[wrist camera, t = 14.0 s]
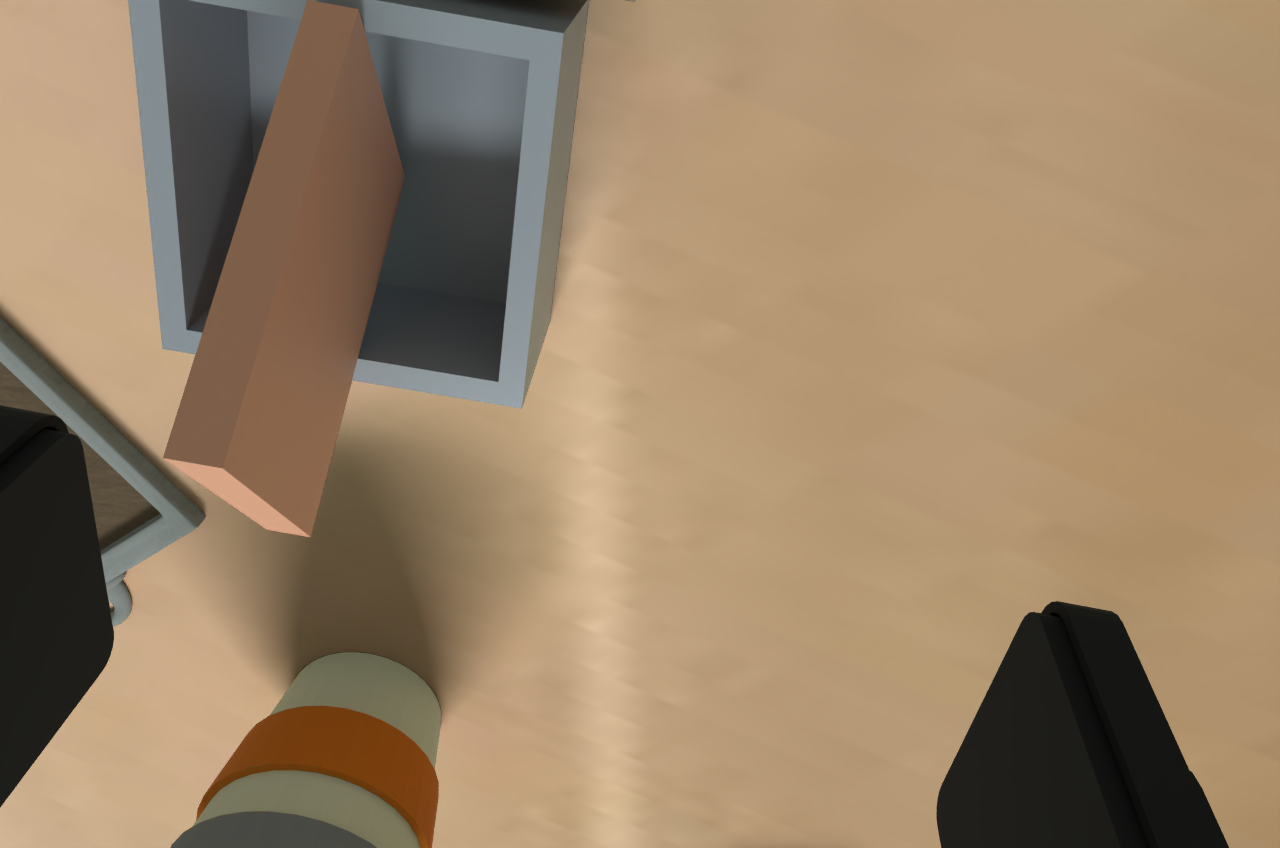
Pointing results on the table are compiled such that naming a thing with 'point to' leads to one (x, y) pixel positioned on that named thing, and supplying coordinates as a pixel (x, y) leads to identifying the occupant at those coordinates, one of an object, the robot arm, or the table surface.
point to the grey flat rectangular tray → (102, 469)
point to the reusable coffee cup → (332, 765)
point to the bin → (430, 156)
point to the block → (295, 284)
